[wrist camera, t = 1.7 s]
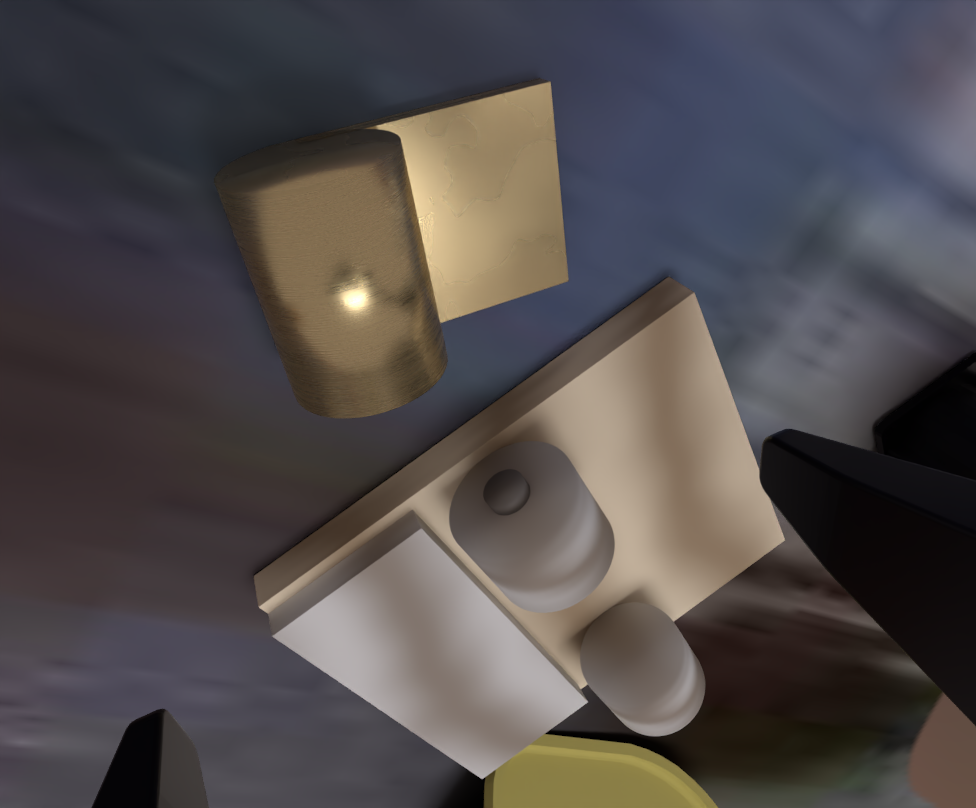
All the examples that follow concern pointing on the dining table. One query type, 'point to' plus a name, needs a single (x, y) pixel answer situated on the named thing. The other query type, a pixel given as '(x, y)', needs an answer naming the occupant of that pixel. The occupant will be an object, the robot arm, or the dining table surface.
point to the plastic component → (590, 778)
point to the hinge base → (620, 456)
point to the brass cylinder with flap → (397, 239)
